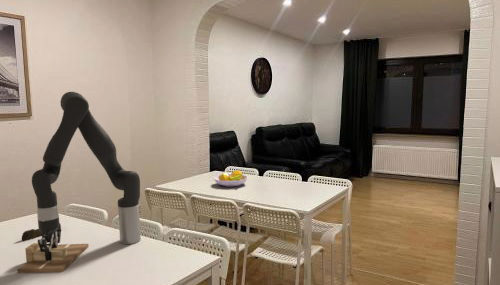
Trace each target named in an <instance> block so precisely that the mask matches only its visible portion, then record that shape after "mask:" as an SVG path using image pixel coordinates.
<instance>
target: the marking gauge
mask: <svg viewBox="0 0 500 285" xmlns="http://www.w3.org/2000/svg"><path fill="white" fill-rule="evenodd" d="M43 249H44V248H43ZM24 250H25V251H24V252H25V258H26V261H25V263H26V262H33V261H40V260H45V252H41V251H40V248H39V245H38V242H36V243H35V242H33V243H31V245H28V246H27V247H25V249H24ZM51 255H52V259H51V260H63V259H64V258H65V257H66V256H67V248H51Z"/></svg>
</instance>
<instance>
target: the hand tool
mask: <svg viewBox="0 0 500 285" xmlns="http://www.w3.org/2000/svg"><path fill="white" fill-rule="evenodd" d="M57 229H61V230H62V225H61V223H60V226H59V228H57ZM39 236H42V231H40V230H39V228H37V229H35V228H34V229H33V228H32V229H28V230H25V231H23V233H22V235H21V242H26V241H30V240H33V239H36V237H39Z"/></svg>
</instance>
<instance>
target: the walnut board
mask: <svg viewBox="0 0 500 285" xmlns="http://www.w3.org/2000/svg"><path fill="white" fill-rule="evenodd" d="M48 247H49V246H48ZM51 247H52V246H51ZM57 248H67V256H66V257H65V258H64V259H63V260H50V261H46V260H40V261H33V262H26V261H25V263H24V264H22V265H21V266H19V267H18V268H17V274H29V273H32V274H33V273H55V272H56V273H58V272H62V273H63V271H65V270H66V269H67V268H68V267H69V266H70V265H71V264H72V263H73V262H74V261H75V260H76V259H77V258H79V256H81V254H82V255H83V253H84V252H85V251H86V250H87V249H88V248H89V243H72V244H71V243H69V244H67V243H66V244H58V246H57Z"/></svg>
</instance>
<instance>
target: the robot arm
mask: <svg viewBox="0 0 500 285" xmlns="http://www.w3.org/2000/svg"><path fill="white" fill-rule="evenodd" d="M89 105H90V104H89V101H88V100H87V99H86V97H84V96H83V95H82V94H81V93H79V92H76V91H68V92H65V93H64V94H63V95H62V96H61V99H60V108H61V109H62V111H63V112H62V113H63V114H62V117H61V121H60V124H59V126H58V127H57V130H56V131H55V133H54V134H53V135H52V137H51V139H50V140H49V142H48V144H47V147H46V149H45V151H44V154H43V156H42V161H43V167H42V168H40V169H39V170H38V169H37V170H36V171H35V172H33V174H32V176H31V185H32V188H33V192H34V194H35V196H36V204H37V206H36V207H37V213H36V214H37V227H38V228H37V229H39V230H40V231H42V235H41V238H40V239H39V238H38V239H37V243H38V245H39V248H40V251H41V252H45V260H46V261H50V260H51V259H52V255H51V248H57V246H58V245H59V244H60V243H61V236H62V228H61V229H57V228H59V226H60V224H61V223H60V213H59V207H58V197H57V193H56V192H55V191H53V190H52V185H53V184H55V183H56V181H57V180H58V179H59V177H60V173H61V169H62V162H63V160H64V159H65V157H66V156H65V155H66V153H67V151H68V148H69V146H70V143H71V141H72V139H73V137H74V135H75V133H76V132H77V129H78V130H79V132H80V134H81V136H82V137H83V140H84V141H85V143H86V144H87V146H88V148H89V149H90V151H91V152H92V154H93V155H94V156H95V158H96V159H97V161H98V162H99V164H100V165H101V167H102V168H103V169H104V171H105V172H106V174H107V177H108V178H109V180H110V182H111V184H112V185H113V187H114V188H115V189H117V190H118V191H122V192H123V197H120V198H119V199H117V213H118V228H119V229H118V231H119V242H120V244H122V245H132V244H136V243H138V242H140V241H141V237H142V236H141V222H140V202H139V201H140V198H141V179H140V176H139V174H138V173H137V172H136V171H132V170H125V169H124V168H123V167H122V166H121V164H120V162H119V161H118V158H117V148H116V144H115V143H114V141H113V140H112V139H111V137H110V135H109V134H108V133H107V131H106V130H105V129H104V128H103V127H102V126H101V124H100V123H99V122H98V121H97V120H96V118H95V117H94V116H93V114H92V113H91V111H90V109H89V107H90V106H89ZM48 246H49V247H48ZM51 246H52V247H51ZM43 248H44V249H43Z"/></svg>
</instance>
